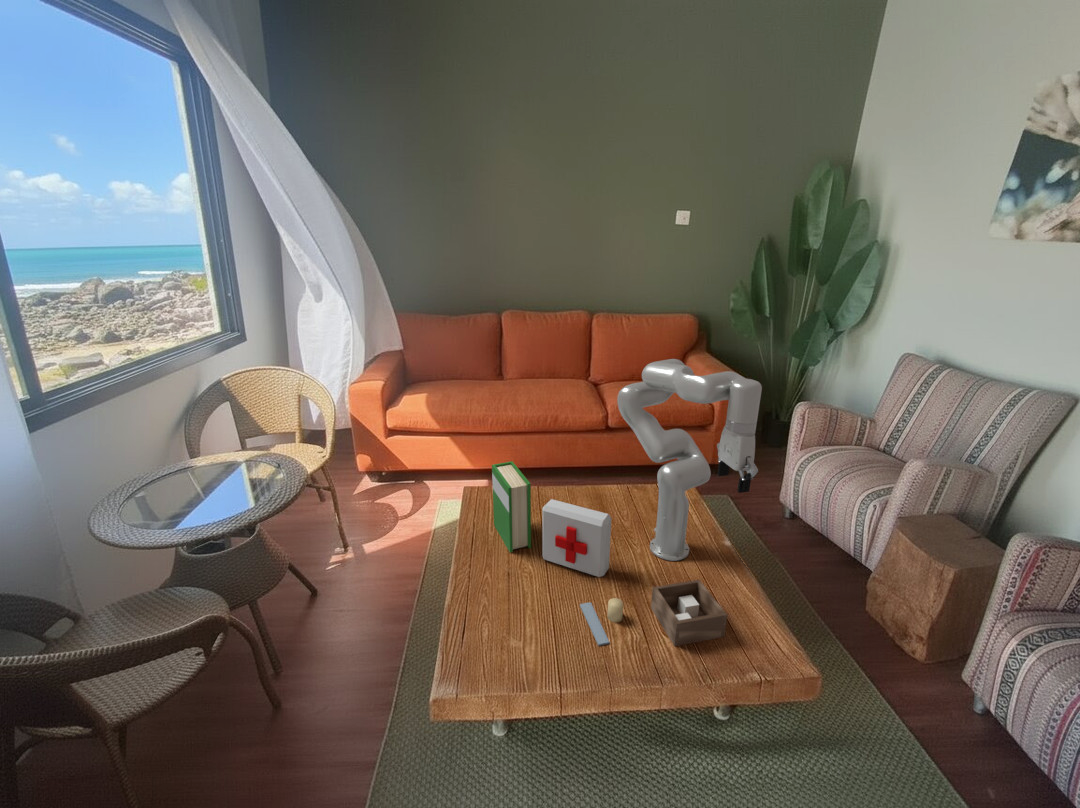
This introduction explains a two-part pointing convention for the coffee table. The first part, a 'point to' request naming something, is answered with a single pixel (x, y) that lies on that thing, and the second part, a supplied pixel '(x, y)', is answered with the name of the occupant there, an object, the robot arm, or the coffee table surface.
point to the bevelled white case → (576, 537)
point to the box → (690, 629)
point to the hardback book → (511, 505)
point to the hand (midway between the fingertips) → (732, 483)
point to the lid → (599, 634)
